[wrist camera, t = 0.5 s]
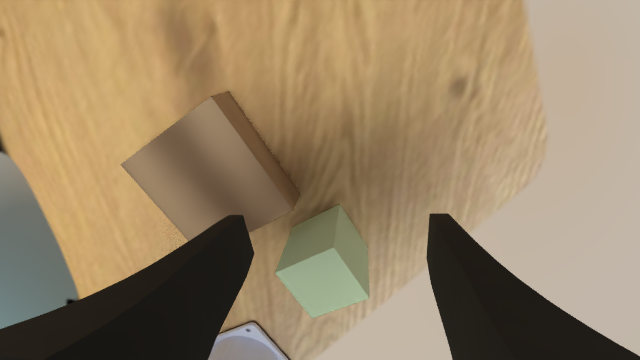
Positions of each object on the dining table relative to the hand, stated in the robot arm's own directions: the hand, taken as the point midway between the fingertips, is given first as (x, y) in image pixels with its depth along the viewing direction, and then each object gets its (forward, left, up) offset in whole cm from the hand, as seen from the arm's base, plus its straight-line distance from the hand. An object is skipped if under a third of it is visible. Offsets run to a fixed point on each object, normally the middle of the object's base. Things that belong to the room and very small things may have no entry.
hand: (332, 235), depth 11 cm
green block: (-5, -6, -10) cm, 13 cm away
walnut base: (-9, +3, -11) cm, 14 cm away
